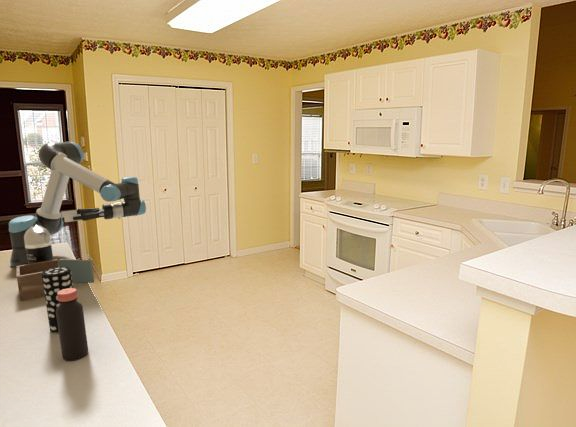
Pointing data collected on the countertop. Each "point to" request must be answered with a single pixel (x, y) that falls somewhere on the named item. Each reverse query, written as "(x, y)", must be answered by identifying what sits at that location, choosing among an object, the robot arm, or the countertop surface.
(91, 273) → the bay door
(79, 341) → the vinegar
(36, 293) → the bay
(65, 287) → the spotted tube
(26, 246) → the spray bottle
